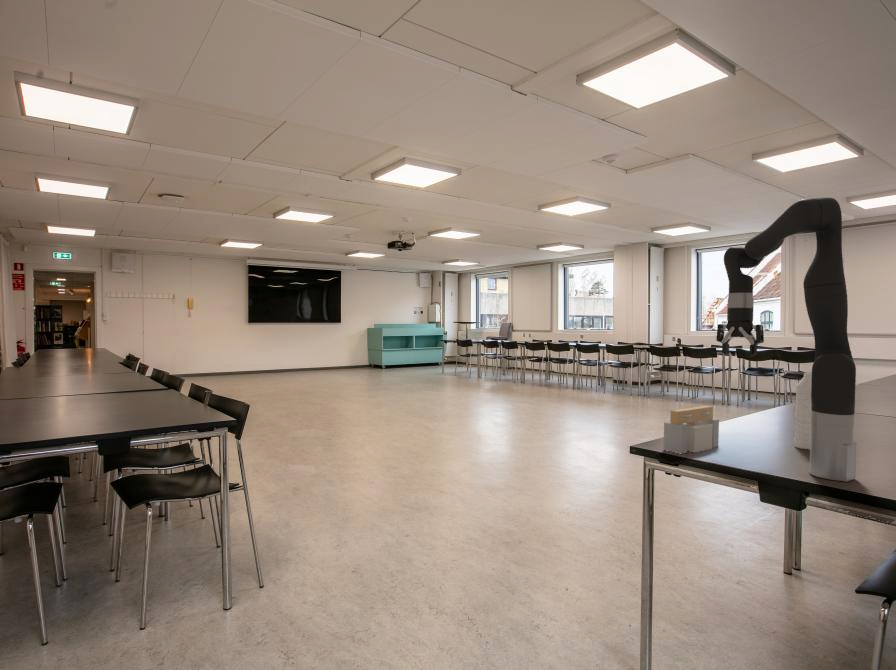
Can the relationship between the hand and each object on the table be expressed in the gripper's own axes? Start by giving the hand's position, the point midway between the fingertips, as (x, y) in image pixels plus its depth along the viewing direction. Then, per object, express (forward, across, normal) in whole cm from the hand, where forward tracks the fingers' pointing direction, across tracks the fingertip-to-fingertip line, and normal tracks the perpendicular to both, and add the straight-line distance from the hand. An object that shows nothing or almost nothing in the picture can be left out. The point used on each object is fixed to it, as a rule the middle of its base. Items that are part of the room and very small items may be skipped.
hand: (738, 355), depth 171 cm
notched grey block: (+30, +5, +18) cm, 35 cm away
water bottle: (+30, -14, -18) cm, 38 cm away
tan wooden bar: (+21, +5, +18) cm, 28 cm away
